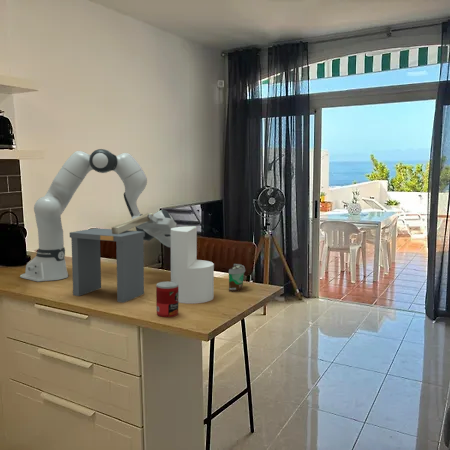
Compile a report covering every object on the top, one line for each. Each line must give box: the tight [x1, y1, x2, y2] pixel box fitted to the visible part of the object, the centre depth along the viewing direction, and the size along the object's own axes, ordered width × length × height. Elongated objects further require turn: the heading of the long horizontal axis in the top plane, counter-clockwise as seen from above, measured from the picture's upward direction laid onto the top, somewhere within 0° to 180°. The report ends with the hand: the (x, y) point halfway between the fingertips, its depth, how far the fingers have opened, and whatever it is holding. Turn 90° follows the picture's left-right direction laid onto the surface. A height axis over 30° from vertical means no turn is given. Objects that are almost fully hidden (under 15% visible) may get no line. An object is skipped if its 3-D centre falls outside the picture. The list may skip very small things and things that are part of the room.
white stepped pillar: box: [170, 225, 215, 305], centre depth 181 cm, size 17×17×28 cm
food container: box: [228, 263, 246, 293], centre depth 196 cm, size 12×6×10 cm, turn 168°
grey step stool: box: [69, 227, 145, 304], centre depth 184 cm, size 25×16×26 cm, turn 67°
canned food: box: [155, 281, 179, 318], centre depth 161 cm, size 8×8×11 cm
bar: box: [111, 212, 154, 234], centre depth 189 cm, size 3×26×2 cm, turn 157°
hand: (144, 215), depth 196 cm, fingers closed on bar, 3 cm apart
